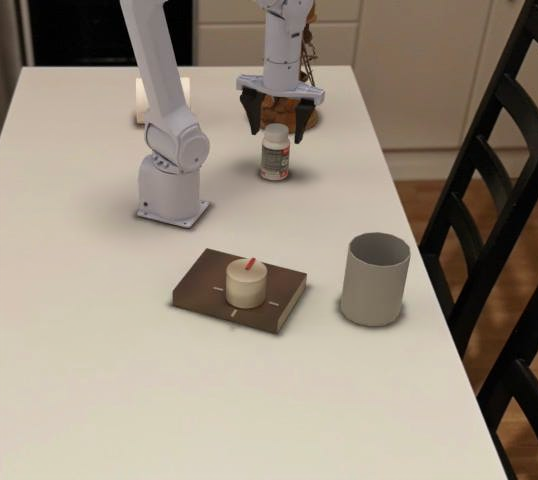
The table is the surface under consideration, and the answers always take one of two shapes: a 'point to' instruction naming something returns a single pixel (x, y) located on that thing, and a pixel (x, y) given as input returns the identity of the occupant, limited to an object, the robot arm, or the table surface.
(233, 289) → the rotary knob
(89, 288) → the table surface
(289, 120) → the lantern
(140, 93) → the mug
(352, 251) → the cup
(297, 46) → the robot arm
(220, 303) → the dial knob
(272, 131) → the pill bottle
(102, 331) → the table surface
